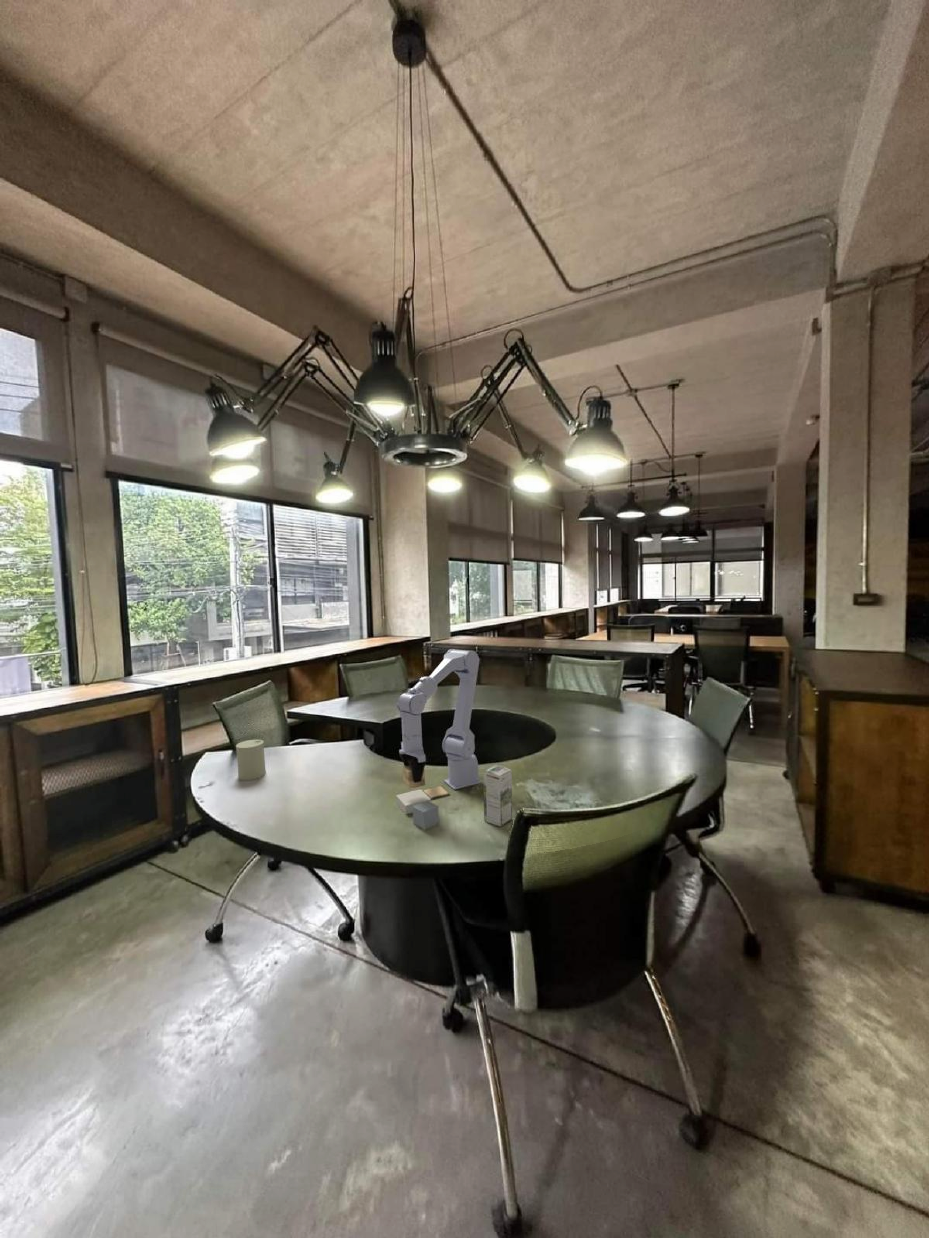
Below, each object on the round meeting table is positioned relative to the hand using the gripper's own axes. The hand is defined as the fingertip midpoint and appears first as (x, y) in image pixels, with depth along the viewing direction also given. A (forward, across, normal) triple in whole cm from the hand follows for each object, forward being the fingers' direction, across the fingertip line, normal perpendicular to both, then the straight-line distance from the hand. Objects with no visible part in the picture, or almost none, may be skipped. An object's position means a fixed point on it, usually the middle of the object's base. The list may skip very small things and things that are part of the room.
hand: (414, 778), depth 147 cm
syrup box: (+9, +21, +16) cm, 28 cm away
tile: (+8, -4, +9) cm, 13 cm away
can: (+9, -54, -41) cm, 68 cm away
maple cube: (+2, 0, 0) cm, 2 cm away
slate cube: (+9, +12, -1) cm, 14 cm away
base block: (+9, 0, 0) cm, 9 cm away
